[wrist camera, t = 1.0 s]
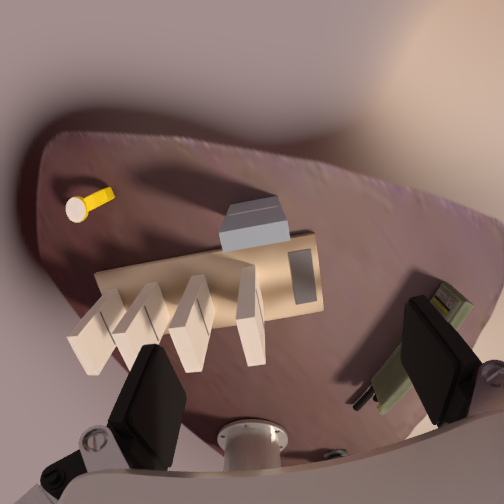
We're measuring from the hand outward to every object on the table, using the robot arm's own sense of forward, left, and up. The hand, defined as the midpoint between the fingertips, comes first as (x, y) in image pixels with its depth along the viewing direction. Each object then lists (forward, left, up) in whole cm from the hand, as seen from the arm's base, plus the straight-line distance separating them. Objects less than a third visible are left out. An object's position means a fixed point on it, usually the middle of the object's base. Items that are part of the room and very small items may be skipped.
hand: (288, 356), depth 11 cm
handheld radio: (-24, -16, -25) cm, 38 cm away
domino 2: (-8, +15, -23) cm, 29 cm away
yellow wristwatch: (+6, +19, -24) cm, 32 cm away
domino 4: (+1, +1, -24) cm, 24 cm away
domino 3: (-8, +9, -23) cm, 26 cm away
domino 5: (-8, +3, -23) cm, 25 cm away
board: (-8, +9, -24) cm, 27 cm away
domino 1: (-8, +21, -23) cm, 33 cm away
